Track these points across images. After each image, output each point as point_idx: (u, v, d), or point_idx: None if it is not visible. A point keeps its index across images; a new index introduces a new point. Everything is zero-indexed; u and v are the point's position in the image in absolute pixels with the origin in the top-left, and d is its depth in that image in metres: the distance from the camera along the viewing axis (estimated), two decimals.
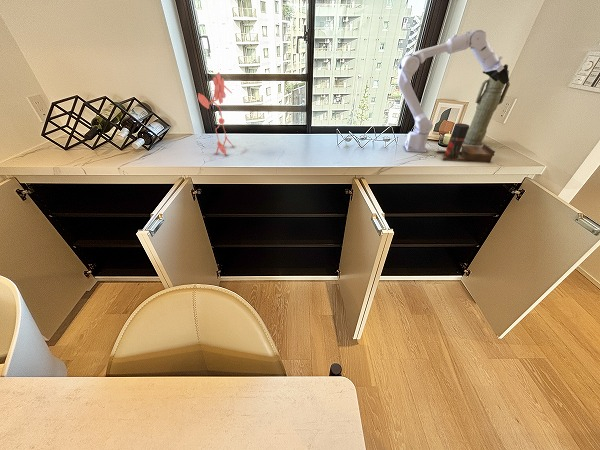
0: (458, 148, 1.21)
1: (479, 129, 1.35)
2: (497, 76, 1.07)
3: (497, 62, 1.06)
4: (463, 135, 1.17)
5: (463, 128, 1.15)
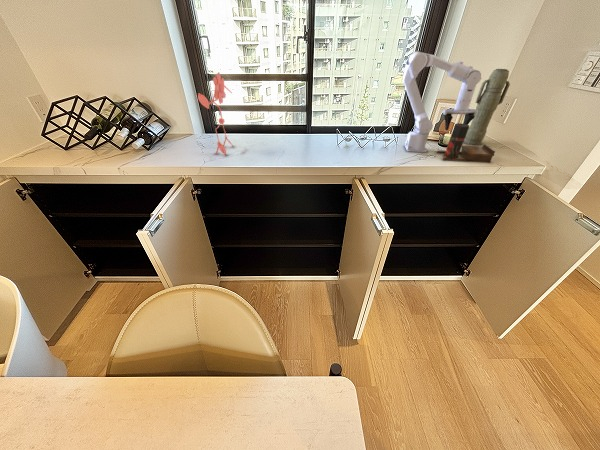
0: (458, 148, 1.21)
1: (479, 129, 1.35)
2: None
3: (456, 110, 1.20)
4: (463, 135, 1.17)
5: (463, 128, 1.15)
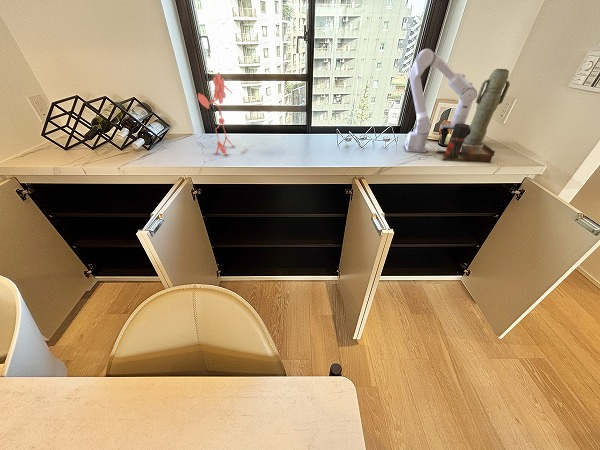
0: (458, 148, 1.21)
1: (479, 129, 1.35)
2: (441, 131, 1.26)
3: (452, 125, 1.21)
4: (463, 135, 1.17)
5: (463, 128, 1.15)
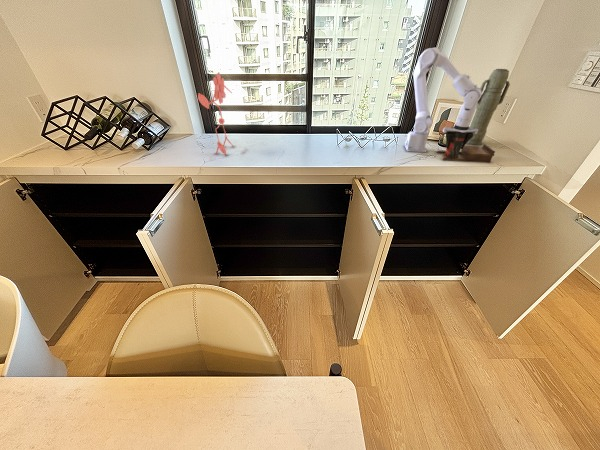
0: (458, 148, 1.21)
1: (479, 129, 1.35)
2: None
3: None
4: (463, 135, 1.17)
5: (463, 128, 1.15)
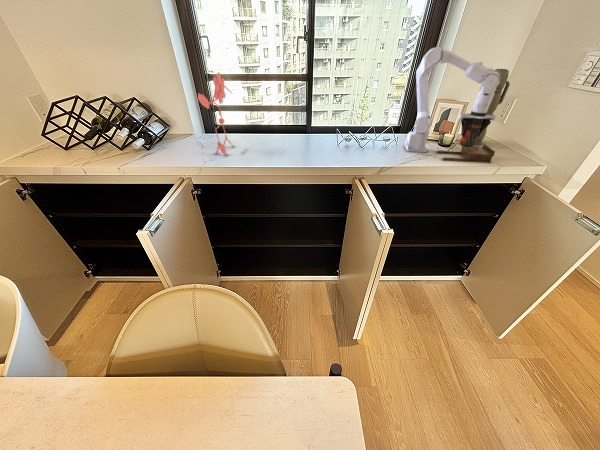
0: (474, 136, 1.17)
1: None
2: (461, 121, 1.18)
3: (472, 115, 1.13)
4: (480, 122, 1.13)
5: (480, 114, 1.11)
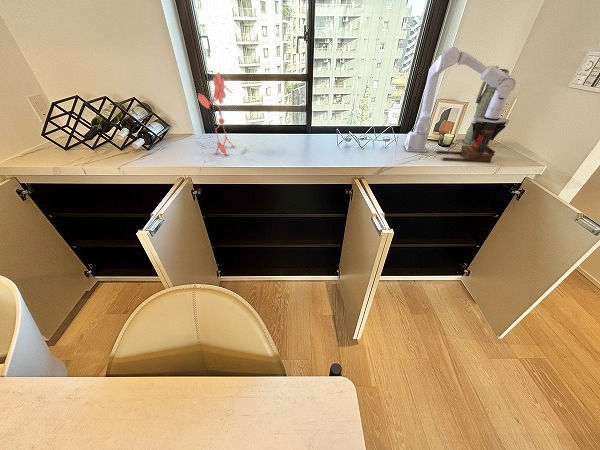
0: (487, 141, 1.17)
1: None
2: (472, 125, 1.18)
3: None
4: (493, 127, 1.14)
5: (493, 120, 1.12)
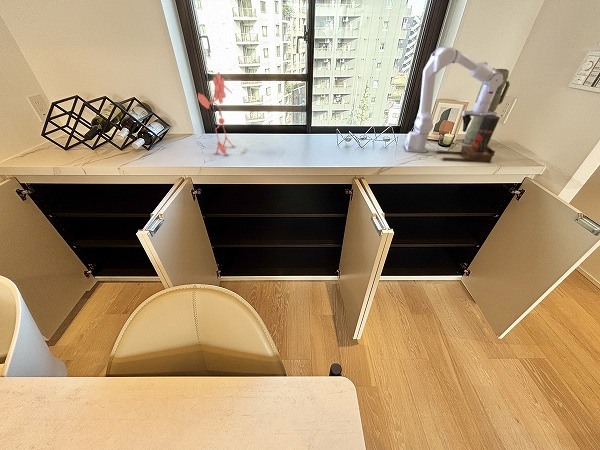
0: (487, 141, 1.17)
1: None
2: (463, 118, 1.25)
3: (475, 112, 1.20)
4: (493, 127, 1.14)
5: (493, 120, 1.12)
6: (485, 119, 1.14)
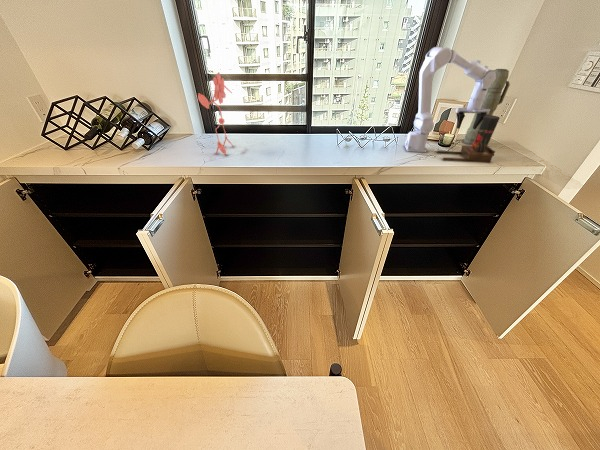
0: (487, 141, 1.17)
1: None
2: None
3: (468, 109, 1.23)
4: (493, 127, 1.14)
5: (493, 120, 1.12)
6: (485, 119, 1.14)
